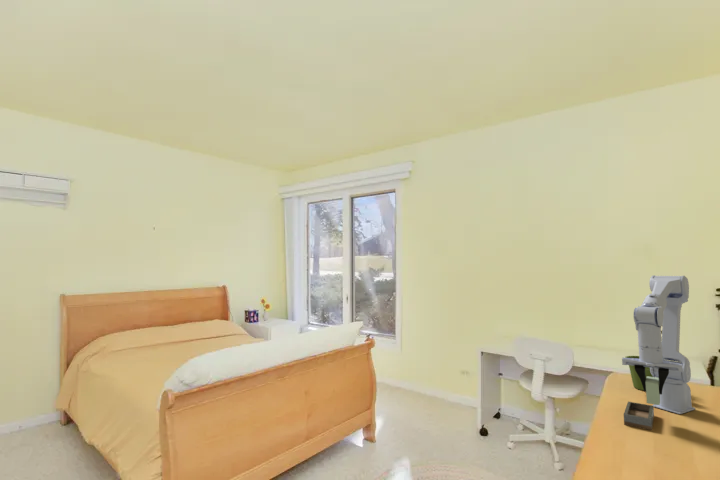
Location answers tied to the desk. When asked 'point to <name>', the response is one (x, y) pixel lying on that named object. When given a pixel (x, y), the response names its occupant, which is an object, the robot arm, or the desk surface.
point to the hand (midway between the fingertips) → (652, 392)
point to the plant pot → (635, 376)
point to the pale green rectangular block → (652, 390)
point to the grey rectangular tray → (639, 415)
